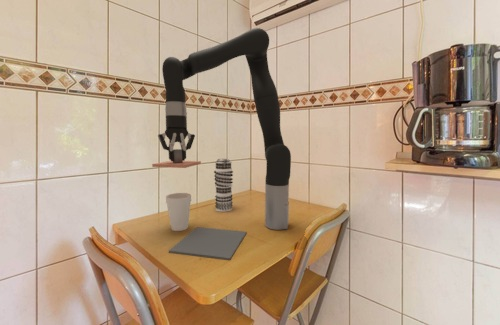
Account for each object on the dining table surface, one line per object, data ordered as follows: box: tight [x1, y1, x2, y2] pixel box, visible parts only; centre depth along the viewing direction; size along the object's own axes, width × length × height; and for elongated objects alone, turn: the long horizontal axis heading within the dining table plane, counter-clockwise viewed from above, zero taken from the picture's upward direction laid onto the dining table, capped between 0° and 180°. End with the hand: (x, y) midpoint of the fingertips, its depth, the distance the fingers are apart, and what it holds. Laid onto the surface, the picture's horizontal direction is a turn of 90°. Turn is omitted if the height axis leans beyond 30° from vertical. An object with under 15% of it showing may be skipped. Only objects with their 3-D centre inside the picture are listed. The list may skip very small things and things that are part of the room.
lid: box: [151, 148, 202, 169], centre depth 91 cm, size 13×13×6 cm
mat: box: [168, 226, 247, 261], centre depth 82 cm, size 20×20×1 cm
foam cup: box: [165, 192, 192, 232], centre depth 93 cm, size 10×9×13 cm
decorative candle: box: [213, 158, 234, 213], centre depth 117 cm, size 9×9×25 cm
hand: (177, 160), depth 91 cm, fingers closed on lid, 3 cm apart
